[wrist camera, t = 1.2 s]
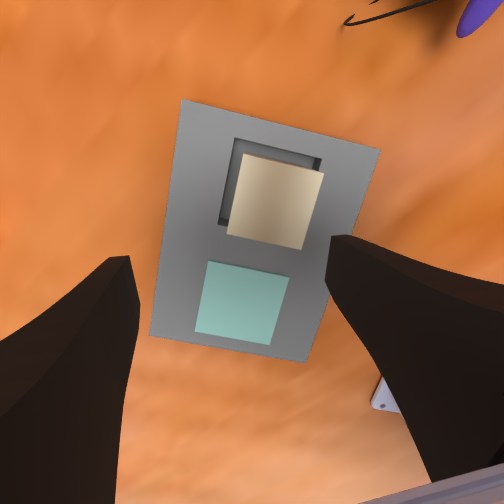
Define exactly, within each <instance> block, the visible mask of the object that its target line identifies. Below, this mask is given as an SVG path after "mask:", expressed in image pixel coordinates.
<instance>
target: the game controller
mask: <svg viewBox="0 0 504 504" xmlns="http://www.w3.org/2000/svg"><path fill="white" fill-rule="evenodd" d="M377 1H379V0H375V1H374V2H372V3H375V2H377ZM433 1H436V0H425V1H422V2H419V3H416V4H413V5H410V6H407V7H404V8H401V9H398V10H395V11H392V12H389V13H386V14H383V15H380V16H376V17H373V18H370V19H366V20H362V21H359V22H354V23H347V22H348V21H349V20H350V19H352V18H353V17H354V15H355V14H354V15H352V16H351V17H349V18H348V19H347V20H346V21H345V22H344V25H346V26H354V25H359V24H363V23H367V22H370V21H374V20H377V19H381V18H384V17H387V16H390V15H394V14H397V13H400V12H403V11H406V10H409V9H412V8H415V7H418V6H421V5H424V4H427V3H430V2H433ZM503 1H504V0H470V1H469V3H468V4H467V6H466V8H465V10H464V12H463V14H462V16H461V18H460V21H459V23H458V26H457V30H456V35H457V37H458V38H463V37H466V36H468V35H470V34H472V33H473V32H474V31H475V30H476V29H478V28H479V27H480V26H481V25H482V24H483V23H484V22H485V21H486V20H487V19H488V18H489V17H490V16H491V15H492V14H493V13H494V12H495V10H496V9H497V8H498V7H499V6H500V5H501V3H502V2H503ZM372 3H371V4H372ZM369 5H370V4H369Z"/></svg>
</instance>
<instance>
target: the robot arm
mask: <svg viewBox="0 0 504 504" xmlns="http://www.w3.org/2000/svg"><path fill="white" fill-rule="evenodd" d="M324 281H325V283H326V285H327V288H328V290H329V292H330V294H331V296H332V298H333V300H334V302H335V303H336V305H337V306H338V308H339V309H340V311H341V312H342V314H343V315H344V317H345V318H346V320H347V321H348V323H349V324H350V325H351V327H352V328H353V330H354V331H355V333H356V334H357V336H358V337H359V338H360V340H361V341H362V343H363V344H364V346H365V347H366V349H367V350H368V352H369V353H370V355H371V357H372V358H373V360H374V362H375V363H376V365H377V367H378V369H379V371H380V373H381V374H382V379H381V381H380V383H379V385H378V387H377V389H376V392H375V394H374V396H373V398H372V400H371V405H372V407H373V408H374V409H379V410H385V411H391V412H397V413H400V414H401V416H402V418H403V420H404V421H405V423H406V425H407V427H408V429H409V431H410V433H411V435H412V437H413V440H414V442H415V444H416V446H417V449H418V451H419V453H420V456H421V458H422V461H423V463H424V465H425V468H426V470H427V472H428V475H429V477H430V480H431V482H432V483H430V484H427V485H423V486H420V487H416V488H412V489H409V490H405V491H402V492H398V493H395V494H391V495H387V496H384V497H380V498H377V499H373V500H370V501H366V502H362V503H359V504H504V285H502V284H498V283H493V282H489V281H484V280H480V279H476V278H472V277H468V276H464V275H460V274H457V273H453V272H450V271H446V270H443V269H440V268H437V267H433V266H430V265H428V264H425V263H422V262H419V261H416V260H413V259H411V258H408V257H406V256H403V255H400V254H398V253H395V252H393V251H390V250H388V249H385V248H383V247H380V246H378V245H375V244H373V243H370V242H368V241H365V240H363V239H360V238H357V237H354V236H351V235H347V234H344V235H334V236H331V240H330V247H329V254H328V260H327V267H326V273H325V280H324ZM139 318H140V300H139V296H138V292H137V287H136V283H135V279H134V274H133V270H132V266H131V261H130V257H129V255H128V256H117V257H109V258H108V259H107V260H105V261H104V262H103V263H102V264H101V265H100V266H98V267H97V268H96V269H95V270H94V271H93V272H92V273H91V274H90V275H88V276H87V277H86V278H85V279H84V280H83V281H82V282H80V283H79V284H78V285H77V286H76V287H75V288H73V289H72V290H71V291H70V292H69V293H67V294H66V295H65V296H64V297H62V298H61V299H60V300H59V301H57V302H56V303H55V304H54V305H52V306H51V307H50V308H48V309H47V310H46V311H45V312H43V313H42V314H41V315H39V316H38V317H36V318H35V319H33V320H32V321H31V322H29V323H28V324H26V325H25V326H23V327H22V328H20V329H19V330H17V331H16V332H14V333H13V334H11V335H9V336H8V337H6V338H5V339H3V340H1V341H0V504H115V493H116V478H117V466H118V455H119V443H120V433H121V423H122V413H123V404H124V398H125V392H126V387H127V382H128V378H129V373H130V368H131V364H132V359H133V354H134V350H135V345H136V340H137V335H138V330H139ZM381 404H382V405H381Z"/></svg>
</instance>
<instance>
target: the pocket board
mask: <svg viewBox="0 0 504 504" xmlns="http://www.w3.org/2000/svg"><path fill="white" fill-rule="evenodd" d="M244 152H247V153H251V154H255V155H260V156H264V157H268V158H272V159H276V160H280V161H284V162H288V163H292V164H297V165H301V166H304V167H307V168H310V169H313V170H315V171H318V172H321V173H324V176H323V179H322V182H321V186H320V189H319V192H318V196H317V199H316V202H315V206H314V209H313V212H312V216H311V219H310V222H309V226H308V229H307V232H306V236H305V239H304V242H303V246H302V249H301V250H299V249H294V248H290V247H285V246H280V245H276V244H271V243H266V242H262V241H257V240H253V239H248V238H243V237H239V236H234V235H229V234H226V233H227V229H228V224H229V219H230V214H231V210H232V205H233V200H234V195H235V191H236V186H237V181H238V176H239V172H240V167H241V162H242V157H243V153H244ZM380 152H381V149H377V148H373V147H369V146H365V145H361V144H357V143H353V142H349V141H345V140H341V139H337V138H333V137H330V136H326V135H322V134H318V133H314V132H310V131H306V130H302V129H298V128H294V127H290V126H286V125H282V124H279V123H275V122H271V121H267V120H263V119H259V118H255V117H251V116H247V115H243V114H239V113H235V112H231V111H227V110H224V109H220V108H216V107H212V106H208V105H204V104H200V103H196V102H192V101H188V100H184V99H182V101H181V109H180V116H179V123H178V130H177V137H176V145H175V152H174V159H173V166H172V173H171V180H170V188H169V195H168V202H167V209H166V216H165V224H164V231H163V238H162V245H161V252H160V260H159V267H158V274H157V281H156V288H155V295H154V303H153V310H152V317H151V324H150V331H149V336H154V337H159V338H165V339H171V340H176V341H182V342H187V343H193V344H199V345H204V346H210V347H215V348H221V349H227V350H232V351H238V352H244V353H249V354H255V355H260V356H266V357H272V358H277V359H283V360H288V361H294V362H300V363H305V364H306V362H307V359H308V356H309V353H310V350H311V347H312V345H313V342H314V339H315V336H316V333H317V330H318V328H319V325H320V322H321V319H322V316H323V313H324V311H325V308H326V305H327V302H328V299H329V296H330V292H329V290H328V288H327V285H326V283H325V281H324V280H325V273H326V267H327V260H328V254H329V247H330V240H331V236H334V235H344V234H347V235H351V234H352V231H353V228H354V225H355V223H356V220H357V217H358V214H359V211H360V208H361V206H362V203H363V200H364V197H365V194H366V191H367V189H368V186H369V183H370V180H371V177H372V174H373V172H374V169H375V166H376V163H377V160H378V157H379V154H380Z"/></svg>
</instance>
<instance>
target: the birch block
mask: <svg viewBox="0 0 504 504" xmlns="http://www.w3.org/2000/svg"><path fill="white" fill-rule="evenodd" d="M323 176H324V173H321V172H318V171H315V170H313V169H310V168H307V167H304V166H301V165H297V164H292V163H288V162H284V161H280V160H276V159H272V158H268V157H264V156H260V155H255V154H251V153H247V152H244V153H243V157H242V162H241V167H240V172H239V176H238V181H237V186H236V191H235V195H234V200H233V205H232V210H231V214H230V219H229V224H228V229H227V233H226V234H229V235H234V236H239V237H243V238H248V239H253V240H257V241H262V242H266V243H271V244H276V245H280V246H285V247H290V248H294V249H299V250H301V249H302V246H303V242H304V239H305V236H306V232H307V229H308V226H309V222H310V219H311V216H312V212H313V209H314V206H315V202H316V199H317V196H318V192H319V189H320V186H321V182H322V179H323Z"/></svg>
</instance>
